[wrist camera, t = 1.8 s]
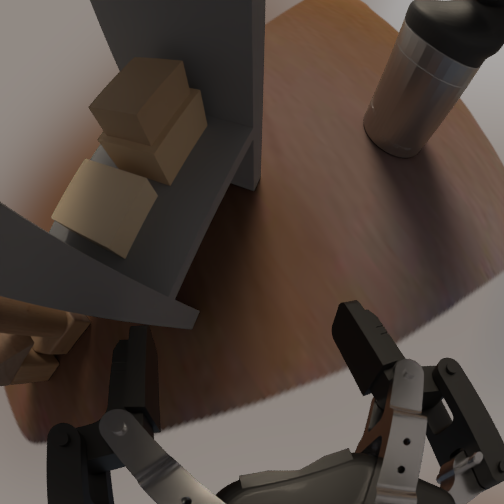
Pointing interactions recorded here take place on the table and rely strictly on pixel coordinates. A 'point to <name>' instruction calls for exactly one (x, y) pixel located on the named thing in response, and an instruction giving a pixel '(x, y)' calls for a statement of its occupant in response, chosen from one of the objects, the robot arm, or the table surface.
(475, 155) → the table surface
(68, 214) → the frame
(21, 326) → the wooden block
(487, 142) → the table surface
